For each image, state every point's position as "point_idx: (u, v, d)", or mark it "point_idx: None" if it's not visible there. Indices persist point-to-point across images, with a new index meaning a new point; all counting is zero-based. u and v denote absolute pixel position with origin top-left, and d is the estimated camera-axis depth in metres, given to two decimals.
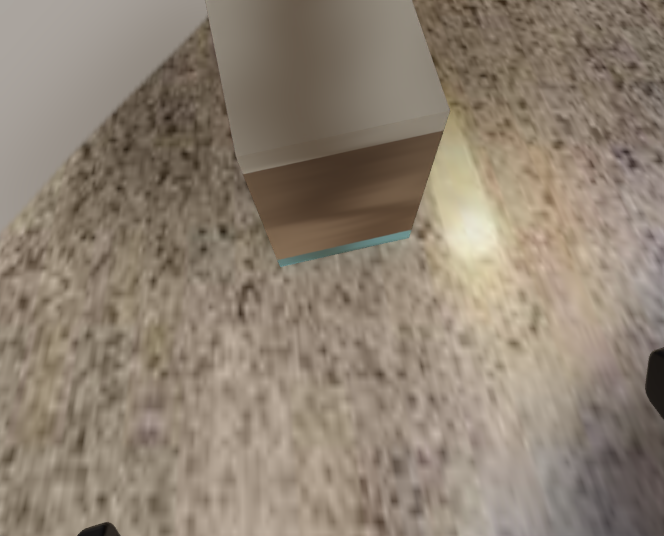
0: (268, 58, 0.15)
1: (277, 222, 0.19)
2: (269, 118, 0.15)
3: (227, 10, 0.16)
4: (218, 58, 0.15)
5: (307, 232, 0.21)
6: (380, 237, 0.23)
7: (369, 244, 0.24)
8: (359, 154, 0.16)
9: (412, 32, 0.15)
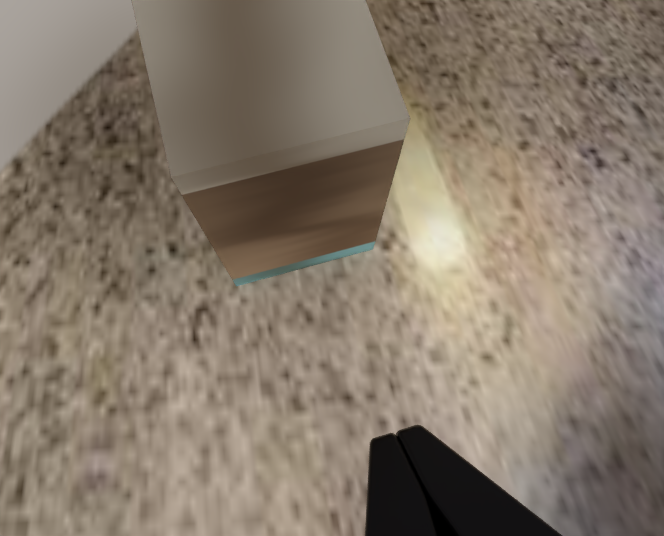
0: (205, 63, 0.13)
1: (227, 243, 0.17)
2: (208, 131, 0.13)
3: (157, 9, 0.14)
4: (147, 64, 0.13)
5: (262, 250, 0.19)
6: (342, 250, 0.22)
7: (331, 258, 0.22)
8: (312, 168, 0.14)
9: (365, 31, 0.14)
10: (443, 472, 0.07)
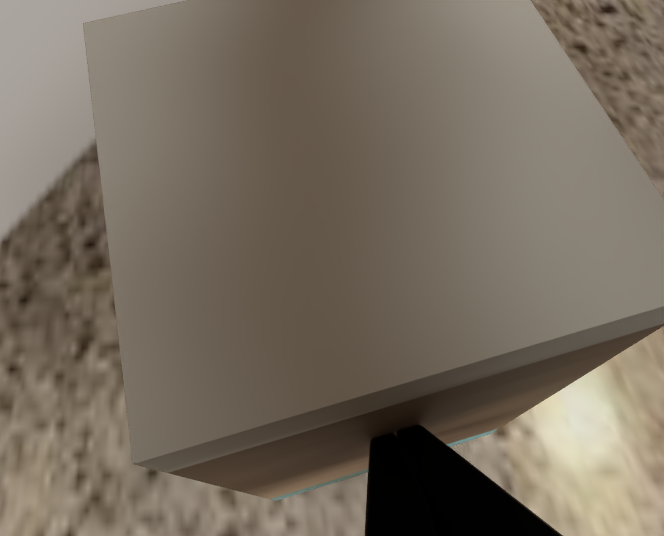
0: (228, 172, 0.06)
1: (266, 482, 0.09)
2: (231, 333, 0.05)
3: (134, 69, 0.07)
4: (105, 178, 0.06)
5: (324, 473, 0.11)
6: (447, 444, 0.13)
7: None
8: (463, 389, 0.06)
9: (568, 96, 0.06)
10: (443, 472, 0.07)
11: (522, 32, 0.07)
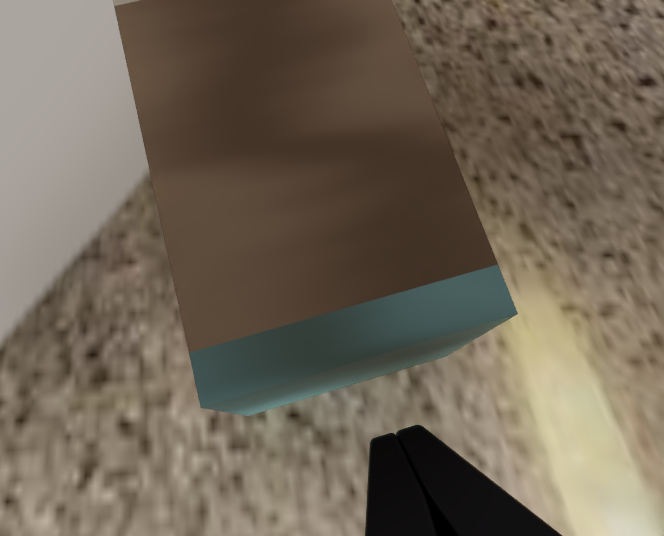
0: None
1: (172, 155, 0.11)
2: None
3: None
4: None
5: (238, 210, 0.10)
6: (431, 288, 0.10)
7: (419, 328, 0.10)
8: None
9: None
10: (443, 472, 0.07)
11: None
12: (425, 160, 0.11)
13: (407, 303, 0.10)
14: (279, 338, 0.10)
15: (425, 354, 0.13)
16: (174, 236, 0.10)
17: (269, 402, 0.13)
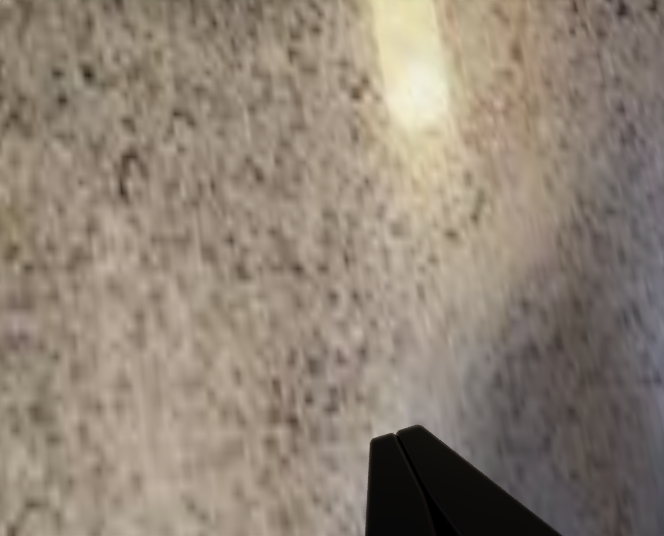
0: None
1: None
2: None
3: None
4: None
5: None
6: None
7: None
8: None
9: None
10: (443, 472, 0.07)
11: None
12: None
13: None
14: None
15: None
16: None
17: None
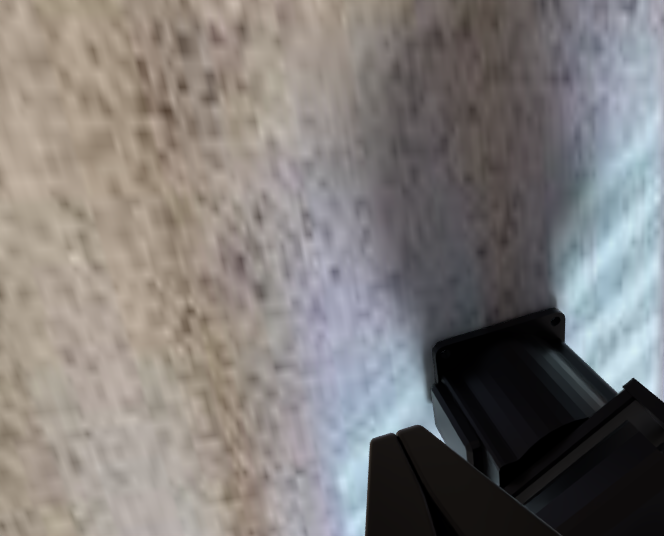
0: None
1: None
2: None
3: None
4: None
5: None
6: None
7: None
8: None
9: None
10: (443, 472, 0.07)
11: None
12: None
13: None
14: None
15: None
16: None
17: None
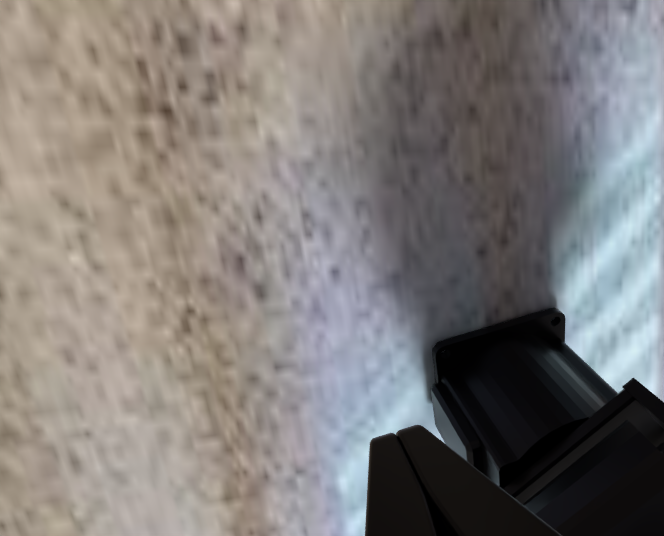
0: None
1: None
2: None
3: None
4: None
5: None
6: None
7: None
8: None
9: None
10: (443, 472, 0.07)
11: None
12: None
13: None
14: None
15: None
16: None
17: None
